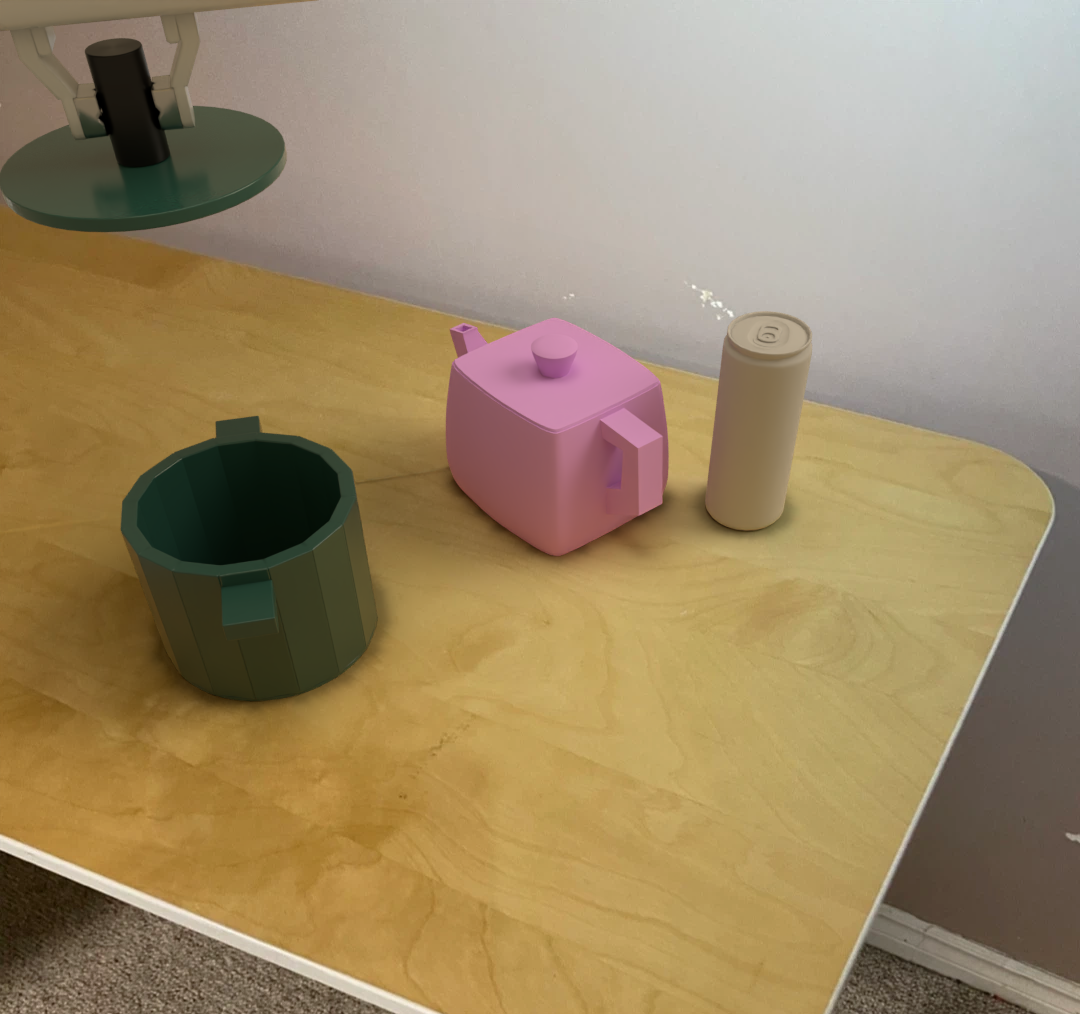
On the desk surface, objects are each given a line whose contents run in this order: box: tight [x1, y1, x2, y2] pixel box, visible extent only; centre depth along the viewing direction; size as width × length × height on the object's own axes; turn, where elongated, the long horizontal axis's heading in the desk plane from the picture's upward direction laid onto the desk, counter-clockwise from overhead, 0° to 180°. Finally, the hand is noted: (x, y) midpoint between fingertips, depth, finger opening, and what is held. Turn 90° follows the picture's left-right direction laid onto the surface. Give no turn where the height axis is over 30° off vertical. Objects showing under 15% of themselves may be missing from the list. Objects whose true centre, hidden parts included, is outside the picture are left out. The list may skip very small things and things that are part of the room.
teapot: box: [445, 317, 670, 557], centre depth 67 cm, size 18×10×10 cm, turn 39°
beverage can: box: [704, 310, 813, 532], centre depth 65 cm, size 5×5×12 cm
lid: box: [0, 37, 288, 233], centre depth 50 cm, size 13×13×6 cm
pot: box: [119, 415, 379, 702], centre depth 59 cm, size 12×17×9 cm
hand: (135, 129), depth 50 cm, fingers closed on lid, 2 cm apart
